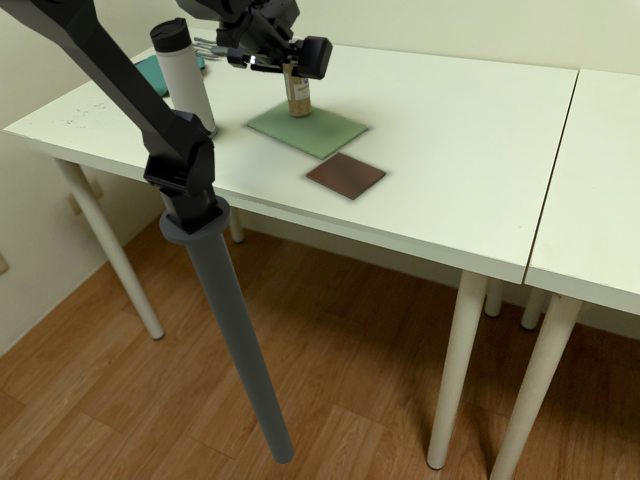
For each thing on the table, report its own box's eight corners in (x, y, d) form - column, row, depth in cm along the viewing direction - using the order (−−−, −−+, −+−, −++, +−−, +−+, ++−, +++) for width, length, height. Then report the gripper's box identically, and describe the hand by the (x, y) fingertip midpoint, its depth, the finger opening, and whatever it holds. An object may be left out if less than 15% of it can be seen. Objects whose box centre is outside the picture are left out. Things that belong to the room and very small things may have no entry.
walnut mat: (353, 199, 70) (352, 197, 69) (305, 176, 75) (305, 174, 75) (386, 174, 73) (386, 172, 73) (338, 153, 79) (338, 151, 79)
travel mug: (225, 128, 89) (195, 18, 75) (201, 146, 85) (166, 33, 71) (201, 122, 92) (168, 15, 78) (177, 139, 88) (139, 29, 74)
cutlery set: (102, 89, 108) (98, 79, 106) (193, 41, 125) (190, 32, 123) (160, 105, 99) (156, 95, 97) (250, 51, 116) (248, 41, 114)
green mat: (322, 160, 78) (322, 158, 78) (246, 125, 89) (246, 123, 89) (368, 128, 84) (368, 126, 84) (291, 100, 95) (291, 98, 95)
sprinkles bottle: (309, 117, 87) (300, 45, 78) (286, 117, 88) (274, 45, 79) (314, 106, 91) (307, 34, 81) (292, 105, 92) (282, 35, 82)
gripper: (321, -18, 67) (358, 34, 81) (220, -23, 75) (269, 25, 89) (300, 58, 68) (340, 96, 82) (201, 45, 75) (253, 82, 89)
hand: (299, 72), depth 85 cm, fingers closed on sprinkles bottle, 4 cm apart
